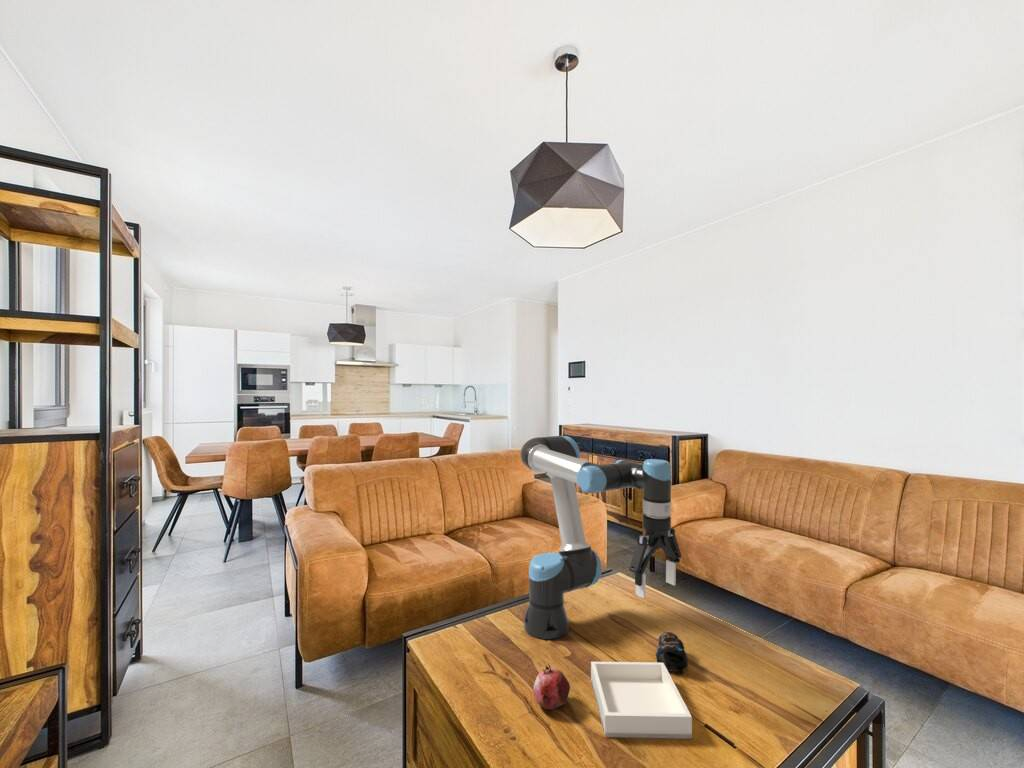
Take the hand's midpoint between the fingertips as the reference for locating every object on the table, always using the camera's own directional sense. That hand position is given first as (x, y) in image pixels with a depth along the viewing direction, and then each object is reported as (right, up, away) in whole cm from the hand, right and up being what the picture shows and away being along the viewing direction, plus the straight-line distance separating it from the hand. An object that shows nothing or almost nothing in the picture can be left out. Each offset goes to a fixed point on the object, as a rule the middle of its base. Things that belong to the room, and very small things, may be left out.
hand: (656, 589), depth 124 cm
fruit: (-31, -24, -12) cm, 41 cm away
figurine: (+6, -24, +6) cm, 26 cm away
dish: (-9, -24, -13) cm, 28 cm away
